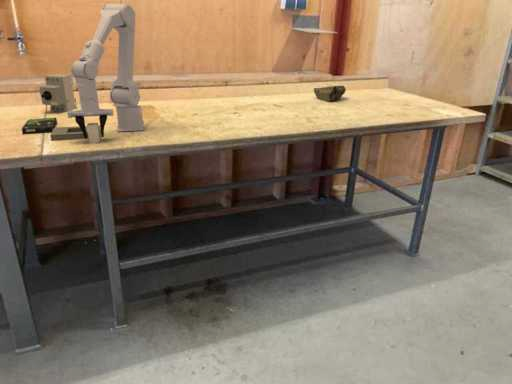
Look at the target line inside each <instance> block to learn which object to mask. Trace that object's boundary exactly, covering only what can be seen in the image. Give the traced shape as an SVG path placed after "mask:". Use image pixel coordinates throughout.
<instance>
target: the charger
mask: <svg viewBox="0 0 512 384" xmlns="http://www.w3.org/2000/svg"><path fill="white" fill-rule="evenodd" d="M98 125H99V122H87V124H86V126H87V130H88V137H89V138H88V140H89V141H88V142H89V144H90V143H91V144H92V143H100V142H101V134H99V126H98Z"/></svg>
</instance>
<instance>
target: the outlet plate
mask: <svg viewBox="0 0 512 384" xmlns="http://www.w3.org/2000/svg"><path fill="white" fill-rule="evenodd" d="M98 126H99V134H100V135H101V127H100V124H98ZM85 128H86V132H87V138H84V135H83V132H82V130H81V128H80V127H79V125H78V126H62V127H61V126H60V127H59V126H58V127H57V126H56V127H55V128H54V129H53V131H52V133H50V140H51V141H53V142H54V141H65V140H66V141H67V140H81V139H82V140H83V139H85V140H86V139H89V137H88V130H87V125H85Z"/></svg>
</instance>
